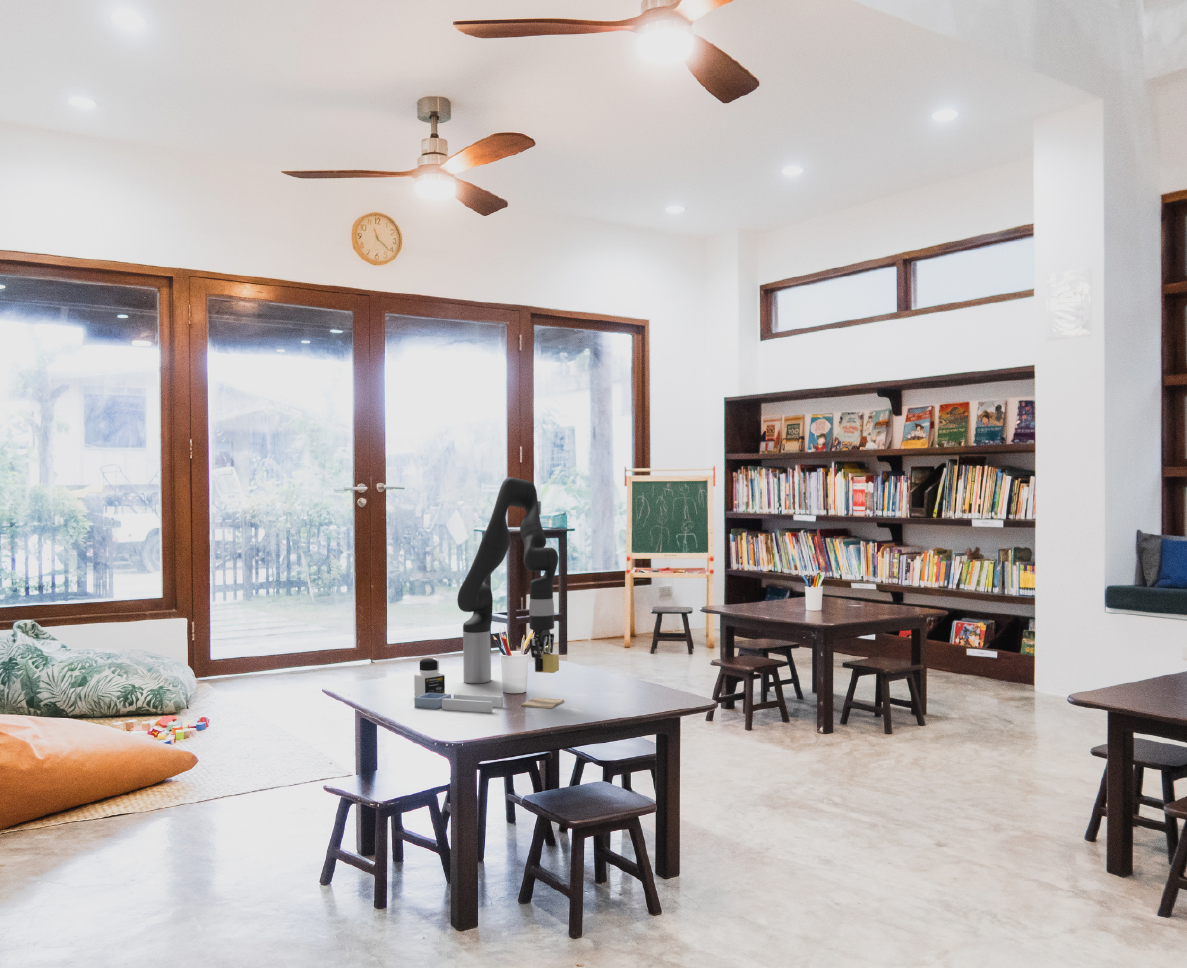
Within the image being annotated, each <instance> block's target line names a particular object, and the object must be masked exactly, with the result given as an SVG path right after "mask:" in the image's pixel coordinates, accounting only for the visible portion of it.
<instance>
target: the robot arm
mask: <svg viewBox="0 0 1187 968" xmlns="http://www.w3.org/2000/svg"><path fill="white" fill-rule="evenodd" d="M537 494H538V493H537V489H536V486H535V484H534V483H533V481H530V480H526V479H521V478H517V477H512V476H511V477H510V476H509V477H506V478H505V479H504V480H503V481H502V484H501V485H500V489H499V492H498V494H497V498H496V501H495V505H494V508H493V511H492V514H491V517H490V520H489V522H488V524H487V527H486V529H485V532H484V535H483V537H482V539H481V541H480V543H479V547H478V550H477V553H476V555H475V557H474V560H473V562H472V564H471V567H470V569H469V571H468V573H467V575H466V577H465V579H464V580H463V582H462V585H461V586H460V588H459V591H458V594H457V600H456V601H457V606H458V608H459V610H461V611H462V612H464V613H472V616H471V617H470V618H469V619H468V620H467V621H465V622H464V623H463V624H462V643H463V644H462V645H463V646H462V647H463V650H462V653H463V682H464V683H466V684H484V683H489V682H491V679H492V665H491V664H492V660H491V659H492V653H491V626H492V621H493V605H494V604H493V601H494V600H493V599H494V598H493V592H492V589H491V588H490V586H489V585H488V584H486V583H484V582H485V581H486V580H487V578H488V577H489V576H490V575H491V574H492V573H493V572H494V571H495V570H496V569H497V568H498V567H499V566H500V565H501V563H502V562H503V561H504V559H505V557H506V555H507V553H508V550H509V547H510V545H511V536H510V532H509V529H508V528H509V527H508V523H507V512H508V510H509V507H515V508H522V509H524V510H525V513H526V514H525V515H524V517H523V518H522V520H521V522H520V525H519V526H520V527H519V531H520V532H519V533H520V536H521V540H522V543H523V546H524V548H523V549H524V550H523V551H524V552H523V565H524V567H525V569H526V570H527V571H530V572H544V574H543V575H542V576H540V577H538V578H534V579H532V580H530V582H529V606H528V610H529V611H528V612H529V629H530V630H531V631H534V633H533V638H530V639H529V646H530V652H531V654H530V655H531V658H533V659H534V671H535V670H536V671H538V672H537V673H542V672H541V671H543V654H553V652H554V641H555V640H554V639H555V634H554V633H551V632H550V631H552V630H553V629H555V604H554V580H555V579H554V578H555V574H556V571H557V568H558V563H559V555H558V552H557V550H556V549H555V548H554V547H546V545H547V538H546V534H545V533H544V529H543V526H542V523H541V519H540V518H541V517H540V509H539V501H538V495H537Z"/></svg>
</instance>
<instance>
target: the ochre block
mask: <svg viewBox="0 0 1187 968" xmlns="http://www.w3.org/2000/svg"><path fill="white" fill-rule="evenodd" d="M559 656H560V655H559V654H553V653H551V654H543V671H541V672H540V673H545V674H546V673H547V674H548V673H549V674H554V673H557V672H558V671H559V670H560V661H559V660H560V657H559ZM559 672H560V671H559ZM534 673H539V672H538V671H536V670H535V669H534Z"/></svg>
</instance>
